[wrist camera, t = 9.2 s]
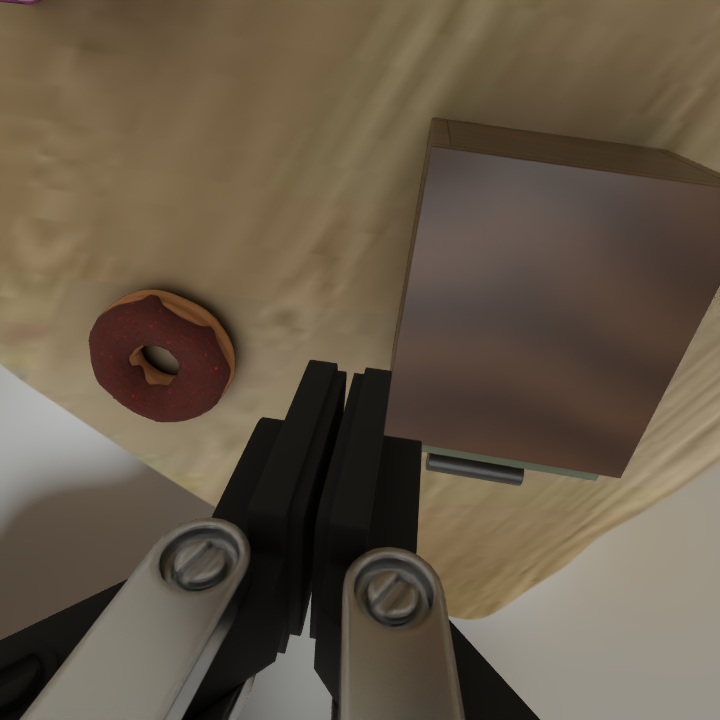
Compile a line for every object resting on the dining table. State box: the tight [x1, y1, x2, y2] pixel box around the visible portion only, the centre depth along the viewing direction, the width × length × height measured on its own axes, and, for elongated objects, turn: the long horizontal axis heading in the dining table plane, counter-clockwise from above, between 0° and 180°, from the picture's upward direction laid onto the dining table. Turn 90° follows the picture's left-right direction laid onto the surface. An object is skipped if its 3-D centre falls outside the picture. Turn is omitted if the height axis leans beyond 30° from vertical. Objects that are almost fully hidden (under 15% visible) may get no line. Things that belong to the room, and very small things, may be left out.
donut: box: [89, 290, 235, 422], centre depth 36 cm, size 10×10×4 cm
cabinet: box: [384, 118, 720, 478], centre depth 28 cm, size 15×13×10 cm
